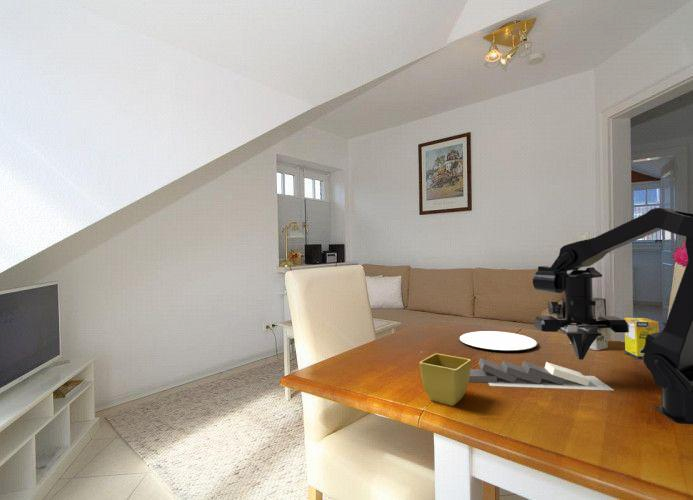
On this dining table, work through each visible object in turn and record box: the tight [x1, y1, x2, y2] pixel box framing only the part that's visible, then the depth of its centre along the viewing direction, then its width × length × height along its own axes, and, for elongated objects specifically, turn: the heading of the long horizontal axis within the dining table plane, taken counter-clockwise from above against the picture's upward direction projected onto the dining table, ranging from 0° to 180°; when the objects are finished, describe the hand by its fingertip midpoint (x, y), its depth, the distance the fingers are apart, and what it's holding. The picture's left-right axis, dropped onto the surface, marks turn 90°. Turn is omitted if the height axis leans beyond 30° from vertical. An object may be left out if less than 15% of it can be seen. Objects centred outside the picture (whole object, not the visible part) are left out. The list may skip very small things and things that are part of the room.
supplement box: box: [623, 317, 660, 360], centre depth 104 cm, size 6×6×11 cm
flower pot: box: [418, 352, 472, 407], centre depth 78 cm, size 9×9×9 cm
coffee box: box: [568, 297, 609, 351], centre depth 116 cm, size 9×6×16 cm
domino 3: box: [500, 360, 542, 384], centre depth 88 cm, size 5×2×8 cm
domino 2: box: [477, 357, 516, 383], centre depth 89 cm, size 5×2×8 cm
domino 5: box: [544, 361, 590, 386], centre depth 86 cm, size 5×2×8 cm
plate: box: [459, 330, 538, 352], centre depth 123 cm, size 25×25×2 cm
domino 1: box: [469, 368, 497, 384], centre depth 89 cm, size 5×2×8 cm
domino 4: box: [521, 360, 564, 385], centre depth 87 cm, size 5×2×8 cm
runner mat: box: [488, 375, 615, 391], centre depth 87 cm, size 9×27×1 cm, turn 80°
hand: (580, 359), depth 85 cm, fingers closed
